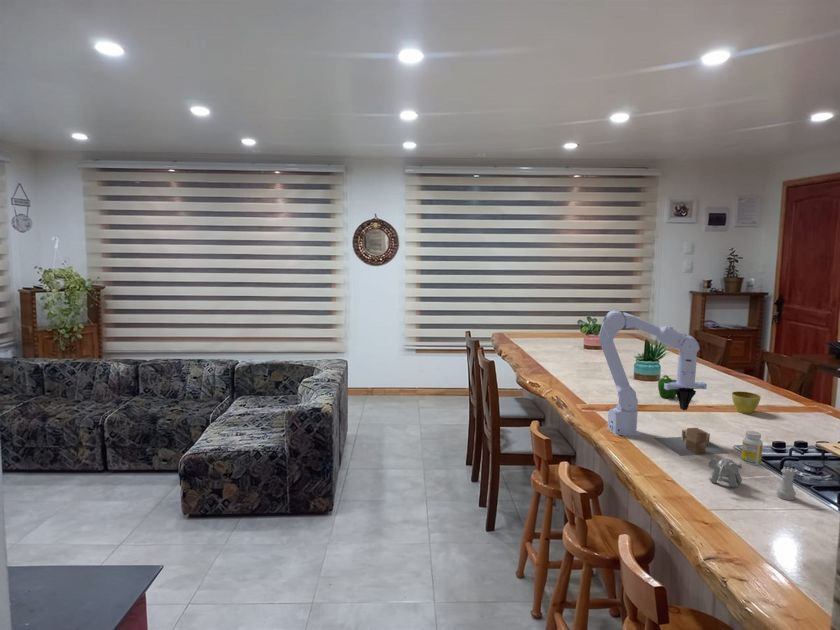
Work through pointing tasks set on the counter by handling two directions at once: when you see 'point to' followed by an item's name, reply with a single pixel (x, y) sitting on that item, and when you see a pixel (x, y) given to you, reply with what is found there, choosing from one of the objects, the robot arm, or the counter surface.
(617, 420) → the robot arm
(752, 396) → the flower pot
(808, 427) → the counter surface
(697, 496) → the counter surface
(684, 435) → the beech block
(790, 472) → the rook chess piece
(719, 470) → the elephant statuette
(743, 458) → the supplement bottle
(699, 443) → the walnut block
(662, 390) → the bell pepper
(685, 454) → the mat
